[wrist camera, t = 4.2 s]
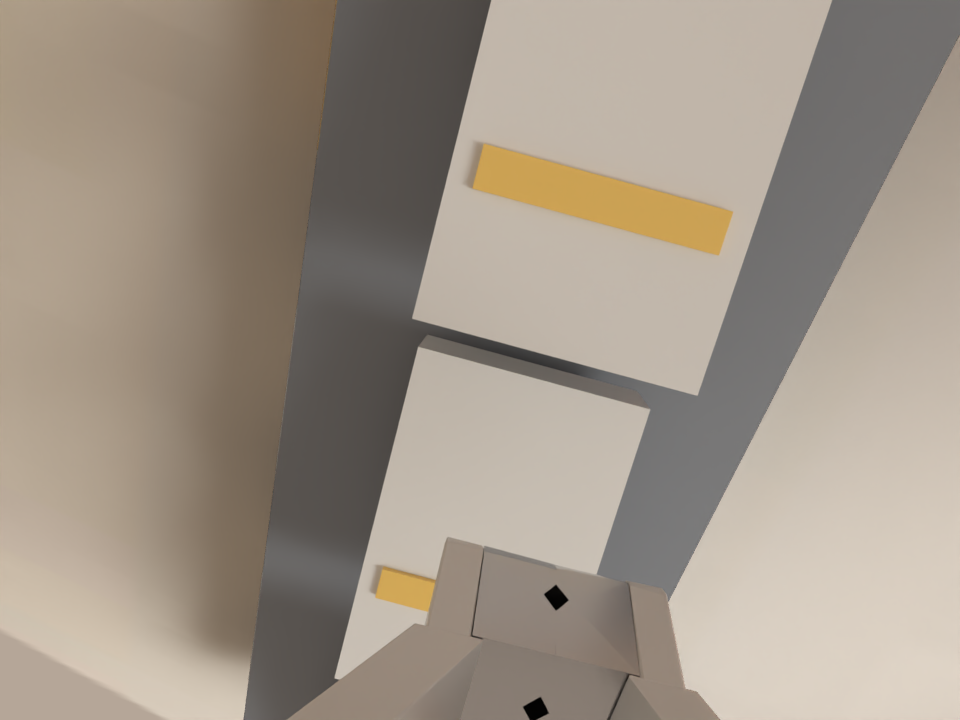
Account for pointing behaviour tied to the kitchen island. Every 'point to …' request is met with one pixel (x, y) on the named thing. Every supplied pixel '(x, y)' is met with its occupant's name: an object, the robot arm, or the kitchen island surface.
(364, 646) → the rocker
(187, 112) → the kitchen island surface
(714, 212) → the rocker
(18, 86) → the kitchen island surface
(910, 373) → the kitchen island surface
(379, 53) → the console
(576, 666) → the robot arm
